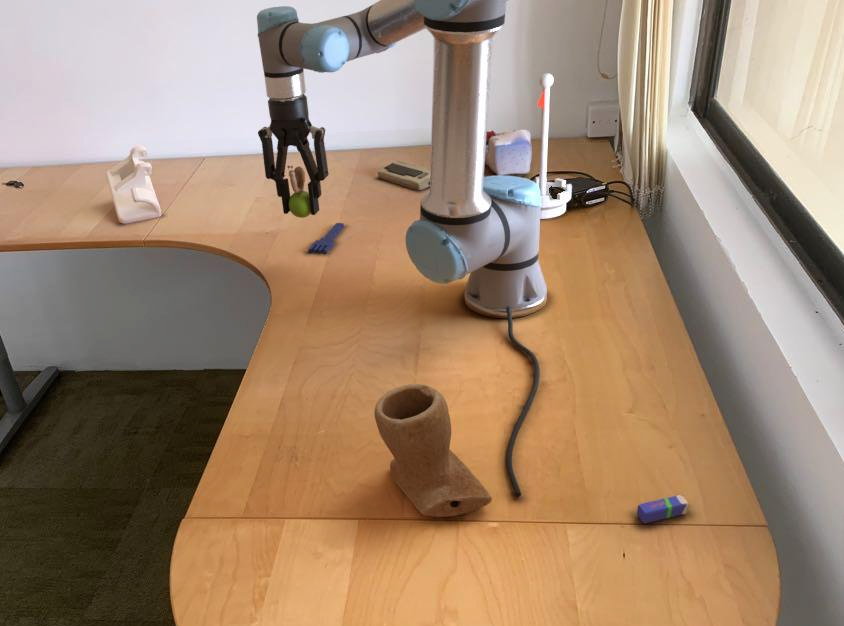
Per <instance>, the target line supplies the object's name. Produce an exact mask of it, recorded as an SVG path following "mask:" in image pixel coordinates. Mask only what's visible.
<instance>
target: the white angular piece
mask: <svg viewBox="0 0 844 626" xmlns="http://www.w3.org/2000/svg"><path fill="white" fill-rule="evenodd" d="M147 156H148V150H147V147H145V146H144V145H137V146H134V147H133V148H131V150H130V152H129V155H128V156H127V157H126V158H124V159H123V160H121V161H120V162H118V163H117V164H116V165H113V166H112V167H111V168H110V169H108V170H107V171H106V172H105V177H106V181H107V184H108V187H109V192H110V195H111V198H112V199H111V200H112V202H113V206H114V209H115V212H116V213H115V214H116V216H117V220H118V222H119V223H120V224H124V225H125V224H126V225H127V224H131V223H135V222H140V221H145V220H150V219H156V218H160V217H162V216H163V215H162V210H161V206H160V203H159V200H158V196H157V194H156V192H155V189H154V185H153V183H152V179H151V176H150V175H152V174H153V171H154V170H153V167H152V163H150V162H145V161H143V160H144V159H146V158H147ZM142 159H143V160H142Z"/></svg>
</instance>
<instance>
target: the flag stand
mask: <svg viewBox="0 0 844 626" xmlns="http://www.w3.org/2000/svg"><path fill="white" fill-rule="evenodd" d="M554 80H555V79H554V76H553V74H551V73H549V72H545V73H543V74H542V75H541V76H540V77H539V84H540V86H541V87H542V93H541V96H540V98H539V100H538V102H537V104H536V106H537V107H539V108H540V109H541V123H540V149H539V151H540V152H539V173H538V175H539V176H535V181H534V182H535V183H536V184H537V185H538V187H539V188H540V196H541V204H542V206H541V210H540V220H544V219H553V218H556V217H559V216H561V215H563V214H565V212H567V203H568V202H569V201H571V199H572V193H573V191H572V190H573V185H572V183H568V184H567V180H566V179H563V178H559V177H557V178H555V179H554V181H547V180H548V176H547V171H548V170H547V169H548V167H547V166H548V148H549V147H548V146H549V145H548V143H549V122H550V121H549V119H550V98H551V97H550V96H551V87H552V86H553V84H554V82H555V81H554ZM551 186H552V187H561V188H563V189H564V190H565V191H563V192H561V193H558V194H557V199H553V198H552V196H551V195H550V193H549V188H550V187H551Z"/></svg>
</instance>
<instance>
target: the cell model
mask: <svg viewBox="0 0 844 626" xmlns="http://www.w3.org/2000/svg"><path fill="white" fill-rule="evenodd" d="M531 140H532V134H531V132H530V131H529V130H527V129H517V130H512V131H509V132H508V131H505V132H500V133H496V132H495V131H494V129H492V130H491V131H489V130H487V134H486V149H485V165H486V166H487V167H489V169H490V170H491V171H492V172H493V173H494V174H495V175H496V176H499V175H500V176H509V175H526V174H529V173H530V170H531V163H532V159H533V149H532V143H531Z"/></svg>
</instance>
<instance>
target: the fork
mask: <svg viewBox="0 0 844 626" xmlns="http://www.w3.org/2000/svg"><path fill="white" fill-rule="evenodd" d="M344 224H345V223H343V222H335V224H334V225H333V226H332V227H331V228H330V230H329V231H328V232H327V233H326V234H325V235H324V237H320V239H315V241H314V242H313V243H312V244H311V245H310V247H309V248H308V249H307V250H308V254H312V253H313V254H317V253H318V254H321V255H322V254H324V255H326V254H328V253H329V251H330V250H332V249H333V247H334V246H335V241H334V239H335V238H336V237H337V236H338V235H339V233H340V232H341V231H342V230H343V228H344V227H345V225H344Z"/></svg>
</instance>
